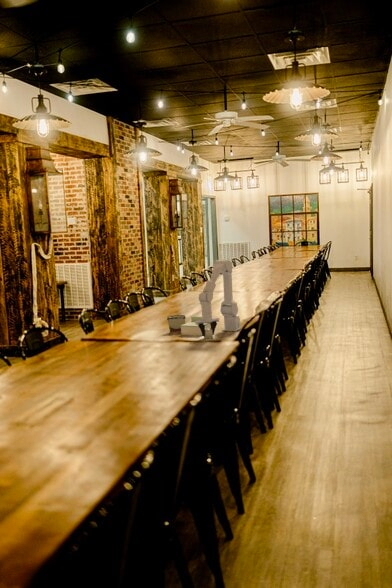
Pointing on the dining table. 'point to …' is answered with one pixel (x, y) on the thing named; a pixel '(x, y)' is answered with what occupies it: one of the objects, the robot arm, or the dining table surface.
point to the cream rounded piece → (208, 333)
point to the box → (193, 330)
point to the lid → (193, 322)
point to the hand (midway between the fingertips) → (208, 335)
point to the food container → (176, 322)
